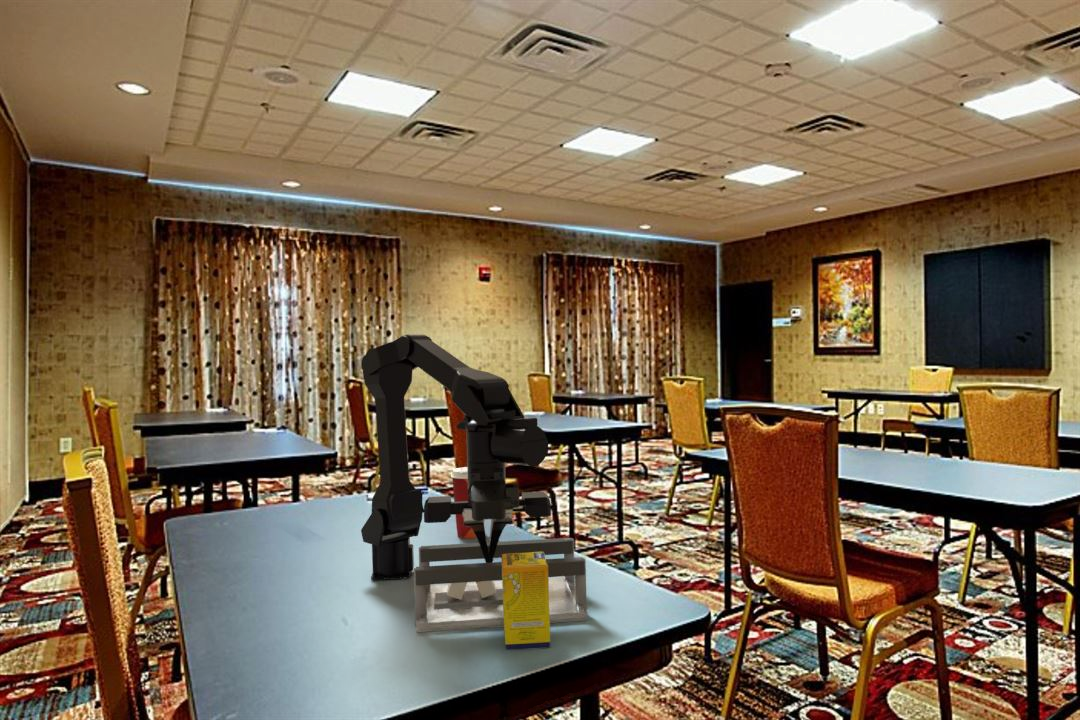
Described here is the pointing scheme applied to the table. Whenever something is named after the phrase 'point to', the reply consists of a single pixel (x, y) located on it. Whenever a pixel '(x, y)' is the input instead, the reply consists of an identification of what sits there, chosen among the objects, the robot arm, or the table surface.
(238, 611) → the table surface
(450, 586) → the paddle on
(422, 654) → the table surface
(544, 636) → the supplement box
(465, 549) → the gray bar rack
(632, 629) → the table surface
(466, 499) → the paper cup
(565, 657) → the table surface
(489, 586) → the paddle
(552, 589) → the panel
